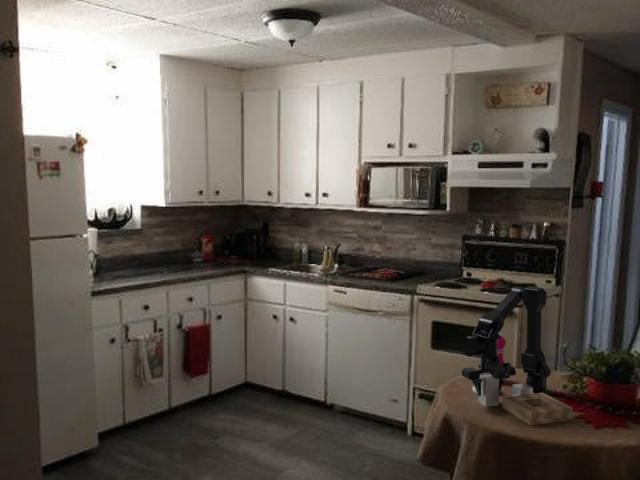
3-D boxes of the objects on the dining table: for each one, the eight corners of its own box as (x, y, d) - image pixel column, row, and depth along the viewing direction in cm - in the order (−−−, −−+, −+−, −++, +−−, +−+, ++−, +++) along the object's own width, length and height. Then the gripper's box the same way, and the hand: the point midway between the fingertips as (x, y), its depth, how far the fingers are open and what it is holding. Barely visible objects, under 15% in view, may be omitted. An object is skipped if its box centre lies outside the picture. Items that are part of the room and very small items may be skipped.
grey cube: (524, 396, 223) (524, 383, 223) (532, 401, 218) (532, 387, 218) (512, 398, 222) (512, 384, 221) (520, 402, 217) (520, 389, 217)
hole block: (542, 403, 215) (542, 392, 215) (572, 419, 200) (572, 407, 200) (502, 408, 211) (502, 397, 211) (530, 425, 196) (530, 413, 195)
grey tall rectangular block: (490, 400, 219) (491, 373, 219) (498, 405, 215) (498, 377, 214) (478, 401, 218) (478, 374, 217) (485, 406, 213) (486, 378, 212)
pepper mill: (507, 384, 237) (508, 334, 235) (488, 383, 238) (489, 333, 237) (506, 379, 244) (506, 330, 242) (487, 378, 245) (488, 329, 244)
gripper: (477, 360, 205) (477, 405, 206) (525, 355, 210) (524, 399, 211) (461, 352, 215) (460, 395, 216) (507, 348, 220) (506, 389, 222)
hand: (488, 395), depth 216 cm, fingers open, 7 cm apart
